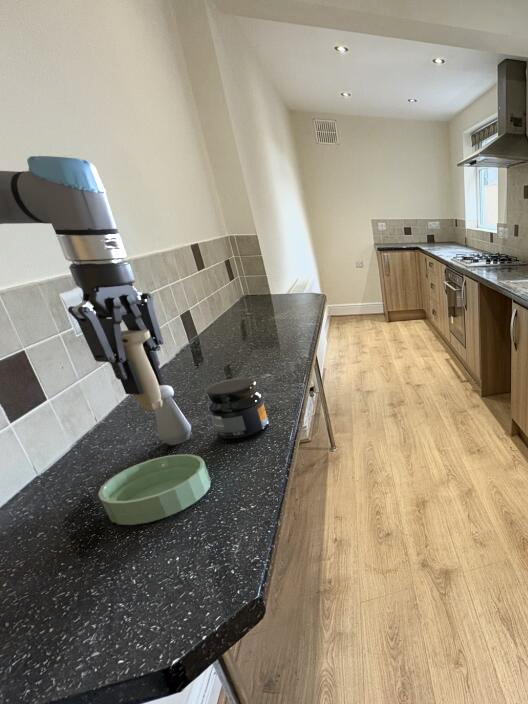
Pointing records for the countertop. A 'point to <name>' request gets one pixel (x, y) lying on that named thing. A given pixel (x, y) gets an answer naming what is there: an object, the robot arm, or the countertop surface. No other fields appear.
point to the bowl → (155, 489)
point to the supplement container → (236, 410)
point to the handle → (142, 368)
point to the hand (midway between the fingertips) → (145, 388)
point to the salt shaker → (171, 419)
